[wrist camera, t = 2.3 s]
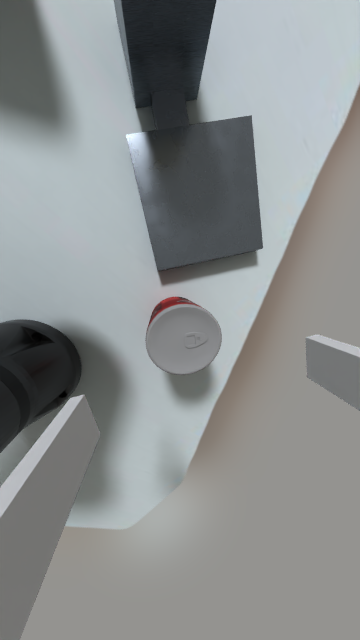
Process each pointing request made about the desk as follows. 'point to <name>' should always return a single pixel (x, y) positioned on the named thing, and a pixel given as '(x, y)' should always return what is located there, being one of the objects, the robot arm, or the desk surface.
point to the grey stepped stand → (186, 140)
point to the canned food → (182, 336)
